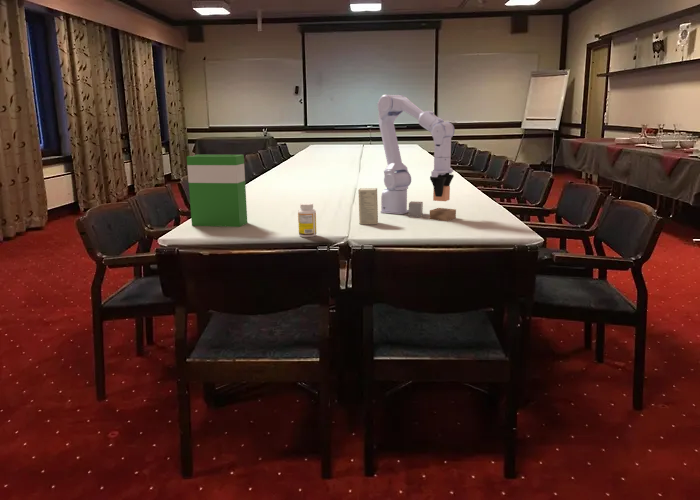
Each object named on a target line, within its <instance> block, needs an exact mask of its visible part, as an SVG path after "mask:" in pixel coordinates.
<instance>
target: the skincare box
mask: <svg viewBox="0 0 700 500" xmlns="http://www.w3.org/2000/svg"><path fill="white" fill-rule="evenodd" d="M378 210H379V209H378V187H371V188H369V187H368V188H367V187H366V188H365V187H363V188H362V187H361V188H359V189H358V212H359V213H358V215H359V216H358V217H359V220H358V221H359V225H377V224H378V223H379V221H378V220H379V216H378V215H379V211H378Z"/></svg>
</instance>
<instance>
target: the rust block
mask: <svg viewBox="0 0 700 500" xmlns="http://www.w3.org/2000/svg"><path fill="white" fill-rule="evenodd" d="M450 192H451V186H444V187H443V193H442V197H438V196H436V195H435V191H434V190H433V196H432V198H433V200H432V201H437V202H448V201H450V199H451V198H450V197H451V196H450V195H451V194H450Z"/></svg>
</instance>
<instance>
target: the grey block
mask: <svg viewBox="0 0 700 500" xmlns="http://www.w3.org/2000/svg"><path fill="white" fill-rule="evenodd" d="M423 205H424V202H423V201H412V200H411V201H409V202H408V210H409V212H408V217H417V218H421V217H422V216H423V210H424V206H423Z"/></svg>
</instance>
